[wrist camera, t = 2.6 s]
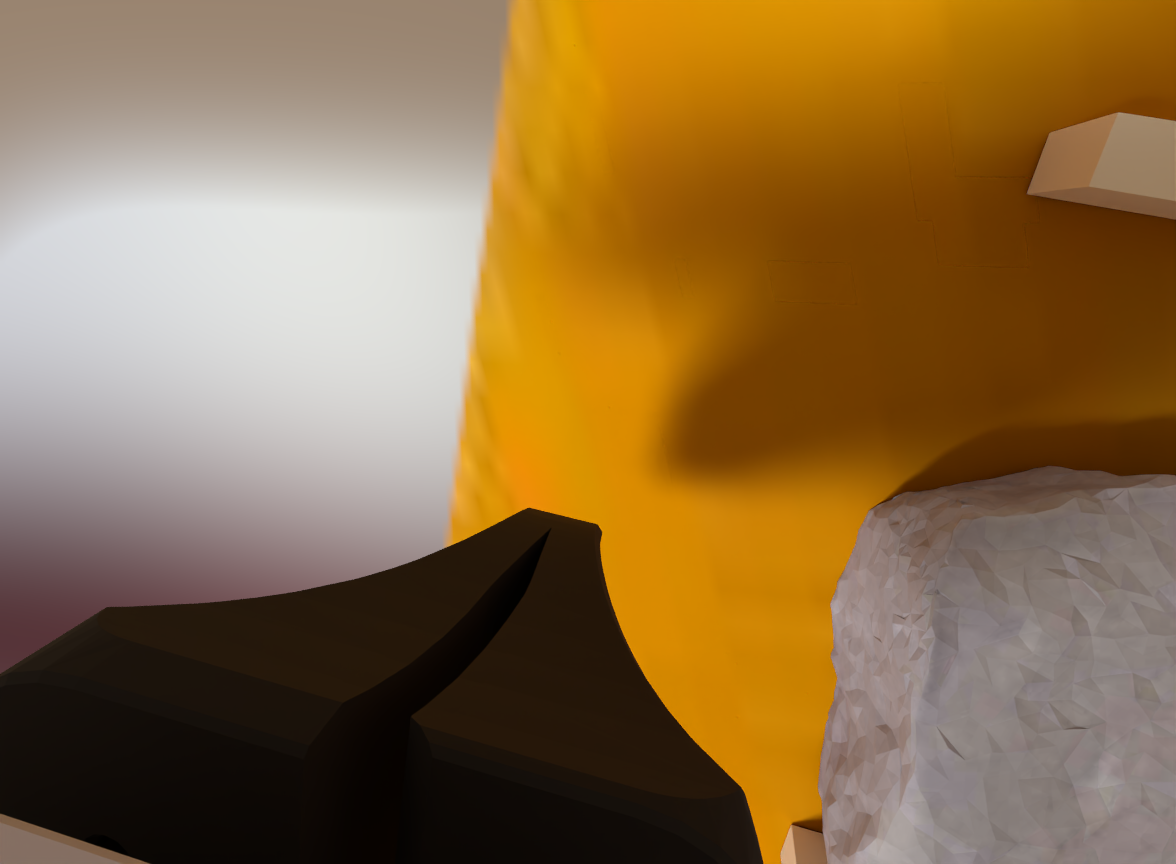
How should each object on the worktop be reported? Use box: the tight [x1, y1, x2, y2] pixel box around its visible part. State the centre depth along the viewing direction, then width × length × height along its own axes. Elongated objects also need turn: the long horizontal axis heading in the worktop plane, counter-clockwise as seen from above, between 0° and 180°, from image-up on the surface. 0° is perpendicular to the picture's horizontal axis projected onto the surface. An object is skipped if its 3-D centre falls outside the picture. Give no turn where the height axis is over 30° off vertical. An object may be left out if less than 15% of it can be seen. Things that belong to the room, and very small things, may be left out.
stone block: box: [818, 466, 1176, 864], centre depth 13 cm, size 12×5×10 cm
